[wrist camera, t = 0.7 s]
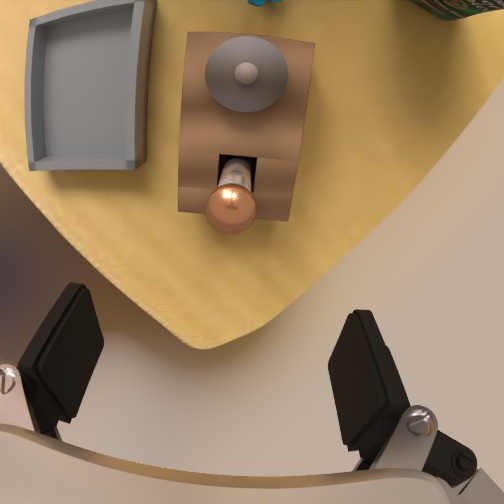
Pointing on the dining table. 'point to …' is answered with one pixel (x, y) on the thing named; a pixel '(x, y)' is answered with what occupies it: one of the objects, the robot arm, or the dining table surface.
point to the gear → (260, 2)
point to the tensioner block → (242, 116)
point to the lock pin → (232, 197)
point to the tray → (88, 86)
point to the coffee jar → (459, 7)
